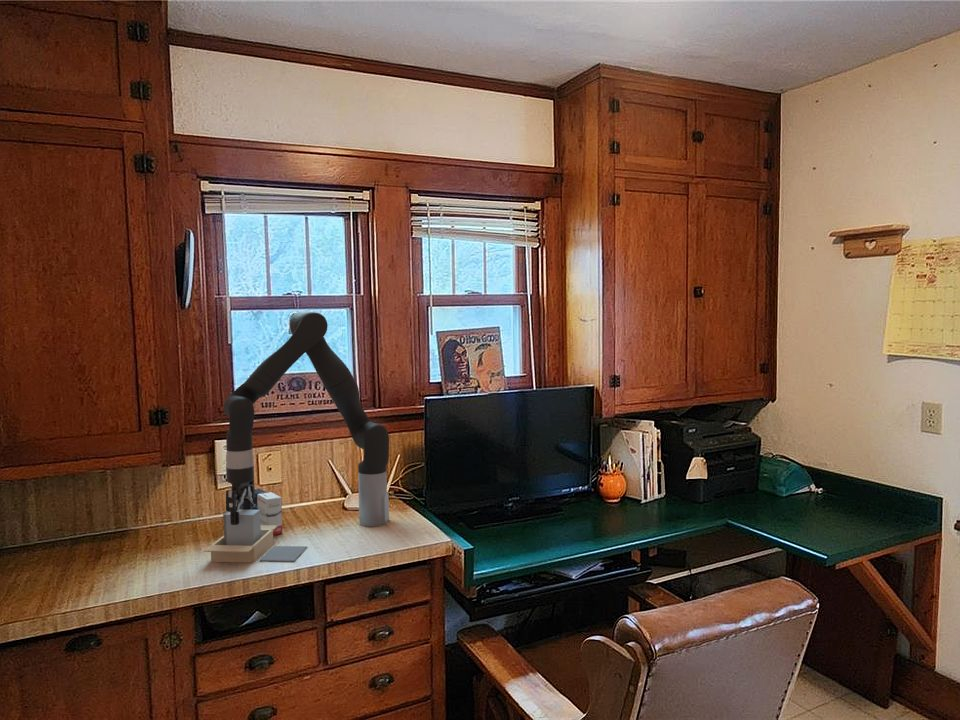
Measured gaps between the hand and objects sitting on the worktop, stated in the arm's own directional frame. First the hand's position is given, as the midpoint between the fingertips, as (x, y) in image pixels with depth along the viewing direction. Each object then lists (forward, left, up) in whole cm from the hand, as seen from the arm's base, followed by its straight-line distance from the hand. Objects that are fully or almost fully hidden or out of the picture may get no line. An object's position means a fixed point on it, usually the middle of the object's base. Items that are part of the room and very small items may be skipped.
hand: (241, 519), depth 191 cm
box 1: (+8, -26, -10) cm, 29 cm away
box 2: (0, 0, -10) cm, 10 cm away
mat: (-13, +1, -10) cm, 16 cm away
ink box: (-1, -18, -10) cm, 21 cm away
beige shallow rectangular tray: (0, 0, -10) cm, 10 cm away
